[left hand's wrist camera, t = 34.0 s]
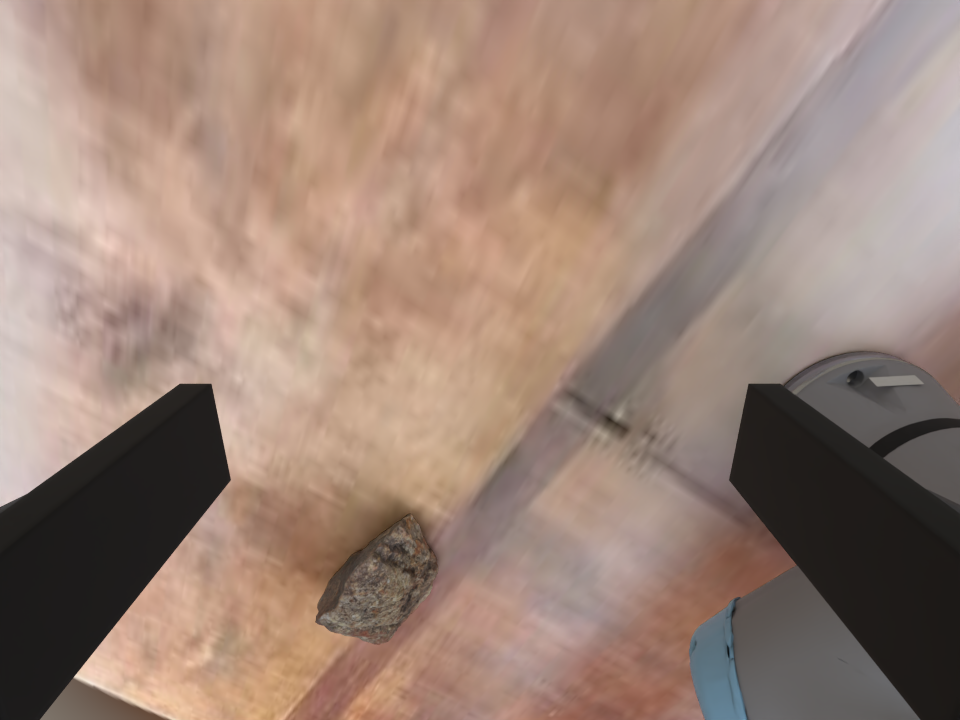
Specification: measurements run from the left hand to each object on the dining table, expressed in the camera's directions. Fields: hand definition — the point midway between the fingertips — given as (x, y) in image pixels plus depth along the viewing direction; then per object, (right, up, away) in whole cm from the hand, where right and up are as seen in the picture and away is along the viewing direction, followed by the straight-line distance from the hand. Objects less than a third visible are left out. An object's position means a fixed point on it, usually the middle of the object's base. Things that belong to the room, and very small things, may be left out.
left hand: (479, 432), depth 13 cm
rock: (-9, -18, +38) cm, 43 cm away
